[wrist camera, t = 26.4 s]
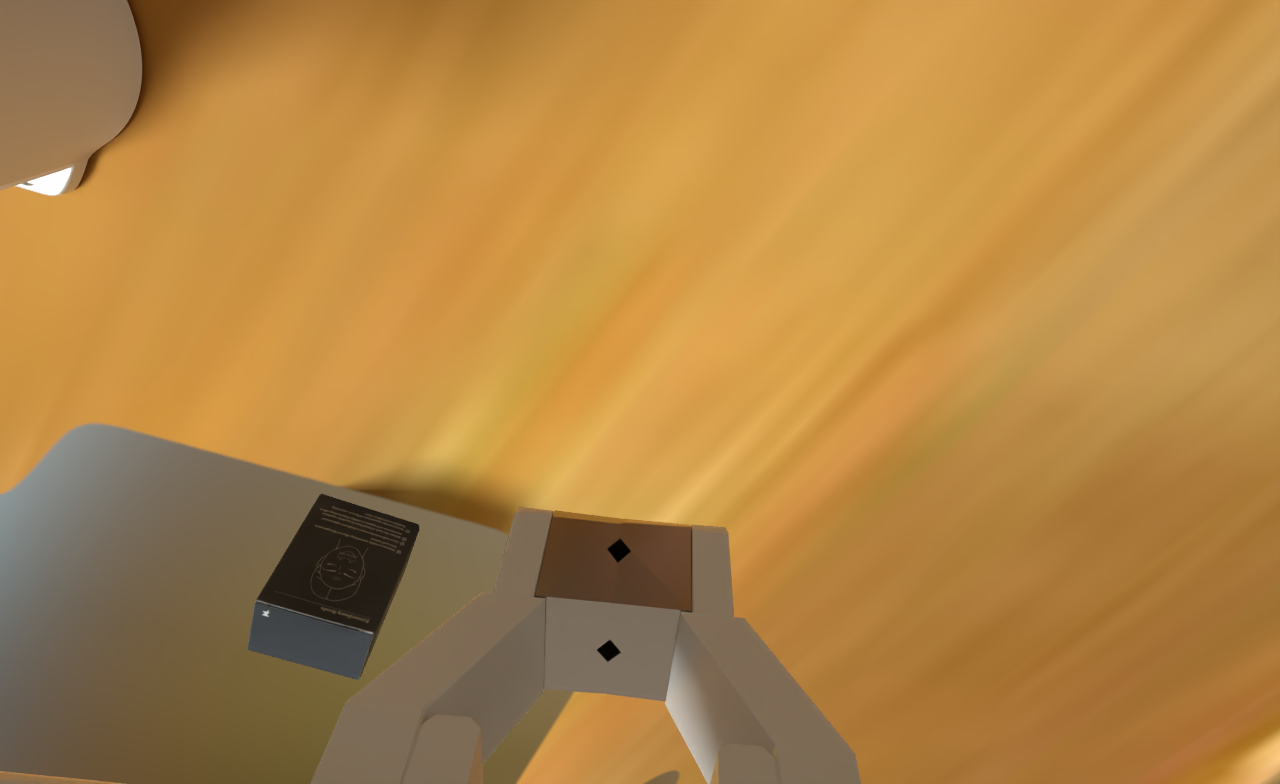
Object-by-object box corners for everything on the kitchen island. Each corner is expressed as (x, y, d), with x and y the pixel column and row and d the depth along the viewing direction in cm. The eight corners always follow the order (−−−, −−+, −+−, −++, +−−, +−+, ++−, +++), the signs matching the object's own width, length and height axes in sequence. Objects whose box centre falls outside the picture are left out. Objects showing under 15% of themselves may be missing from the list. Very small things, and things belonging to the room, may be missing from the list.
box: (309, 540, 59) (243, 651, 51) (321, 490, 56) (253, 599, 48) (406, 570, 61) (358, 684, 52) (422, 523, 58) (374, 635, 49)
